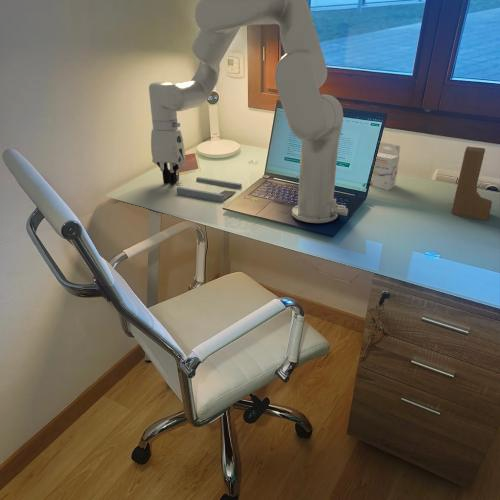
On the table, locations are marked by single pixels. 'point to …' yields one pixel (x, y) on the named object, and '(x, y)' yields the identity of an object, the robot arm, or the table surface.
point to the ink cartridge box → (385, 166)
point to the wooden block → (471, 187)
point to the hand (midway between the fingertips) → (170, 182)
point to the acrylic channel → (210, 195)
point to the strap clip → (178, 179)
